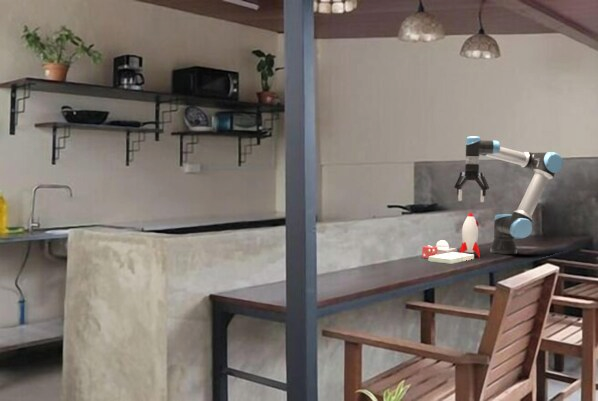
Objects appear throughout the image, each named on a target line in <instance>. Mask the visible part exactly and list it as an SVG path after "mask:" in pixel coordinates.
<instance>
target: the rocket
mask: <svg viewBox="0 0 598 401" xmlns="http://www.w3.org/2000/svg"><path fill="white" fill-rule="evenodd" d="M461 229H462V230H461V240H462V243H461V245H460V248H459V253H465V254H474V252H475V253H476V255H477V256H478V258H479V259H481V258H480V257H481V256H480V249H479V245H478V244H477V242H478V238H479V222H478V220H477V219H476V218H475V215H474V214H473V213H472V212H469V213H468V215H467V217H466V218H465V220H464V222H463V224H462V228H461Z"/></svg>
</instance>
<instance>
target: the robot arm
mask: <svg viewBox="0 0 598 401" xmlns="http://www.w3.org/2000/svg"><path fill="white" fill-rule="evenodd" d="M480 156H483V157H487V158H492V159H495V160H498V161H499V160H500V161H503V162H508V163H512V164H513V165H514V164H516V165H519V166H520V168H523V169H527V170H529V171H532V172H534V175H533V176H532V179H531V181H530V182H529V184H528V187H527V189H526V191H525V193H524V195H523V197H522V199H521V202H520V204H519V206H518V208H517V209H516V210H514V211H513V212H512V213H511V214H510V213H506V214H505V213H504V214H496V215H495V216H494V222H493V223H494V224H493V225H494V226H493V240H492V243H491V246H490V249H489V250H490V251H489V252H490V253H493V254H501V255H516V254H517V253H518V250H517V246H516V242H515V239H524V238H527V237H529V235H530V234H531V233H532V231H533V224H532V222H533V218H532V216H533V214H534V212H535V210H536V207H537V206H538V203H539V202H540V199H541V198H542V196H543V193H544V191H545V188H546V186H548V183H549V181H550V180H552V179H553V178H554V177H555V174H556V173H559V172H560V171H561V170H562V168H563V166H564V160H563V158H562V157H561V154H559V153H557V152H554V151H553V152H552V151H548V152H530V151H524V152H522V151H519V150H514V149H510V148H508V147H503V146H501V144H500V141H498V140H483V139H482V140H481V137H480V136H476V135H475V136H467V137H466V138H465V164H464V165H465V167H464V170H465V171H460V172H459V176H458V178H457V180H456V182H455V184H454V186H453V187H454V189H456V193H457V197H458V200H457V201H458V202H462V201H463V189H462V188H463V187H464V186H465V185H466V183H467V182H468V181H475V182H476V183H477V184H478V186H479V187H480V188H481V190H480V203H485V197H486V194H487V193H486V191H488V190H489V189H490V187H489V184H488V182H487V179H486V177H485V172H480V164H479V163H480ZM479 177H480V178H479ZM480 179H481V180H480Z"/></svg>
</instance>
